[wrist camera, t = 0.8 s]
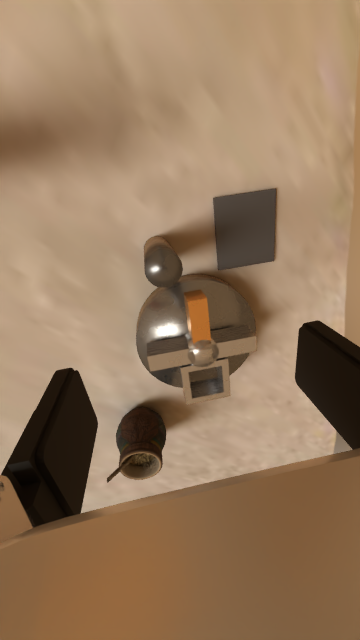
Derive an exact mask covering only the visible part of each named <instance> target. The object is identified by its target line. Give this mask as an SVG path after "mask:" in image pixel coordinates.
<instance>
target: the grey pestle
mask: <svg viewBox="0 0 360 640" xmlns="http://www.w3.org/2000/svg"><path fill="white" fill-rule="evenodd" d="M144 264H145V274H146V277H147V279H148V280H149V281H150V282H151V283H152V284H153V285H155V286H157V287H161V288H166V287H170V286H172V285H174V284H175V283H176V282H178V280H179V279H180V277H181V275H182V269H183V268H182V263H181V260H180V259H179V257H178V256H177V254H176V253H175V252H174V250H173V249H172V247H171V246H170V245H169V243H168V242H167V241H166V240H165V239H164V238H162V237H160V236H154V237H151V238H150V239H148V240H147V241H146V243H145V246H144Z"/></svg>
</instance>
